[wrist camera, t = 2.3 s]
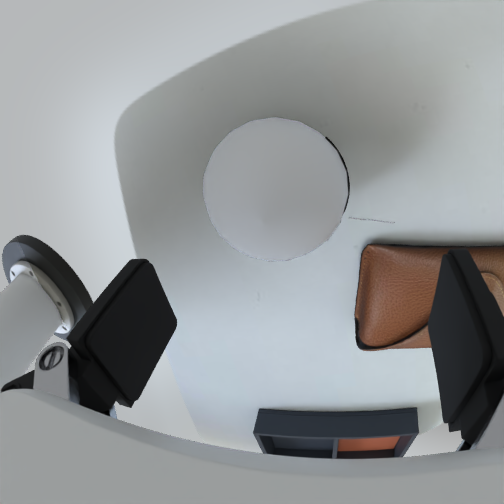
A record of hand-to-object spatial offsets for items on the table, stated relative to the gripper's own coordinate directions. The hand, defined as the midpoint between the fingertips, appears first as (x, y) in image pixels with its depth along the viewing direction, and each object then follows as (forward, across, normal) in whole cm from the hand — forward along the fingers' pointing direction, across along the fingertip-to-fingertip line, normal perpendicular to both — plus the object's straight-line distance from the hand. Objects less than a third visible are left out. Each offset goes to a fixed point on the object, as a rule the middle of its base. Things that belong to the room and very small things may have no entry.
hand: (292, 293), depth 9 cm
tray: (+11, -2, +35) cm, 37 cm away
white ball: (+11, +1, 0) cm, 11 cm away
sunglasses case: (+11, -11, +9) cm, 18 cm away
